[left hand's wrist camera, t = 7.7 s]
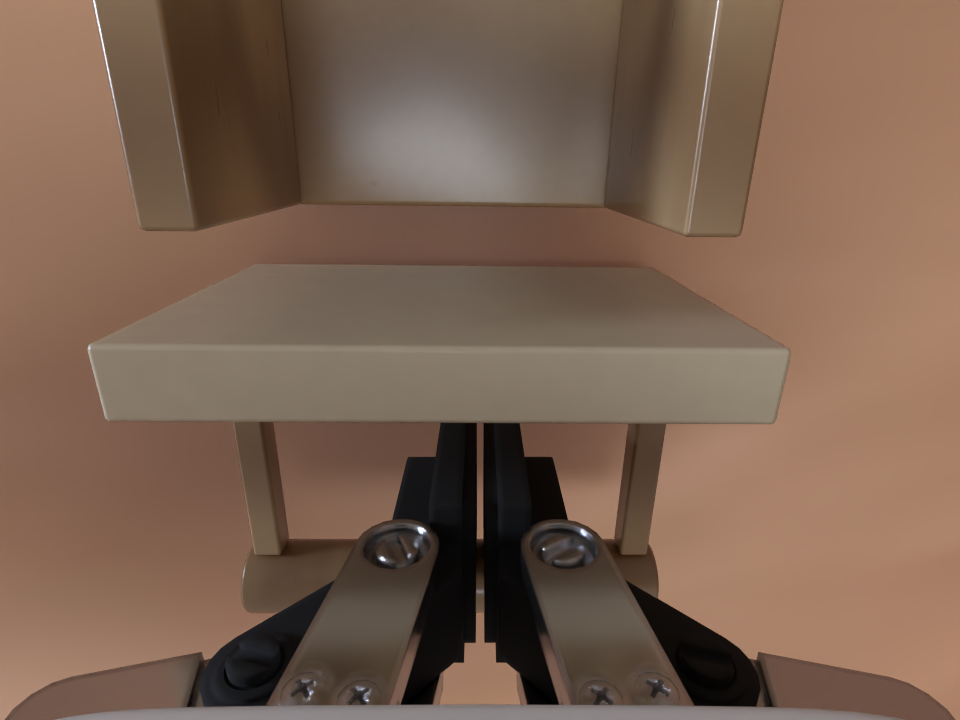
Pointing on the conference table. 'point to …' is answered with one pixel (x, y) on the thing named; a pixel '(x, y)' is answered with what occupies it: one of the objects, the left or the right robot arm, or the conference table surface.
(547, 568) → the left robot arm
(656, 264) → the conference table surface
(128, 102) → the drawer
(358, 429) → the conference table surface
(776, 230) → the conference table surface
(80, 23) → the conference table surface
